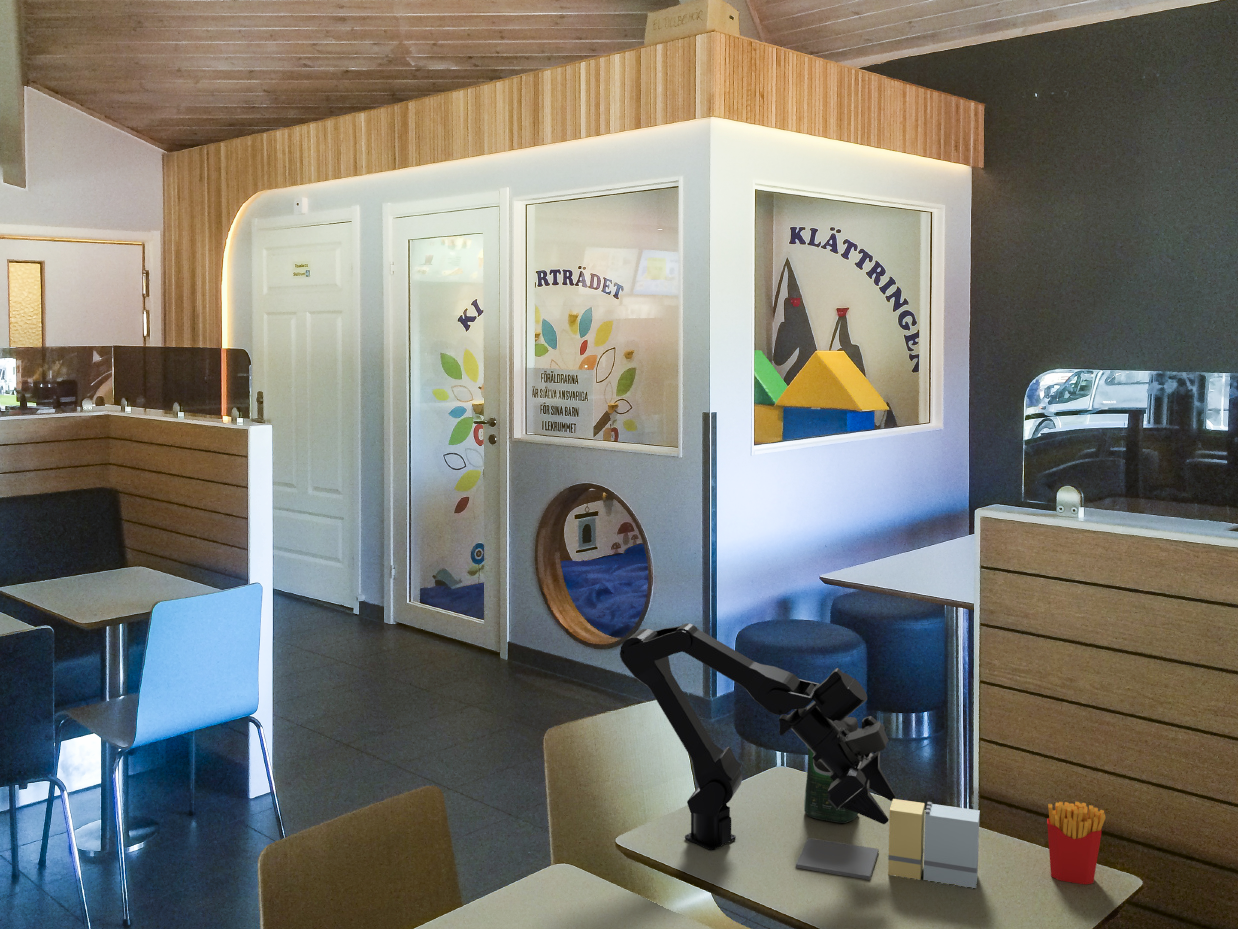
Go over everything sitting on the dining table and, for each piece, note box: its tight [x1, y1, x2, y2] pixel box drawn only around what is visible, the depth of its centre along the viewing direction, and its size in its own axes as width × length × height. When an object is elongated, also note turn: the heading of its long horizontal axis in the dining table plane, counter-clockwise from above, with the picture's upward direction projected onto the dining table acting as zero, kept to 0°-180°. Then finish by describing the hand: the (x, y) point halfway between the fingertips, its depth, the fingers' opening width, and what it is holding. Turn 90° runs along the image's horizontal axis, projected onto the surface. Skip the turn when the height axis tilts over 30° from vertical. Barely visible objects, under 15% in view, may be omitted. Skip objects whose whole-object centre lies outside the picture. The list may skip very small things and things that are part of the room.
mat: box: [795, 837, 880, 881], centre depth 184 cm, size 12×10×1 cm
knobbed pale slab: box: [923, 801, 981, 889], centre depth 177 cm, size 8×4×11 cm, turn 69°
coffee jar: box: [803, 716, 859, 824], centre depth 200 cm, size 10×8×19 cm
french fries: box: [1046, 801, 1107, 885], centre depth 177 cm, size 8×4×12 cm, turn 69°
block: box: [887, 798, 926, 880], centre depth 179 cm, size 5×4×11 cm
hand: (890, 810), depth 180 cm, fingers open, 9 cm apart
